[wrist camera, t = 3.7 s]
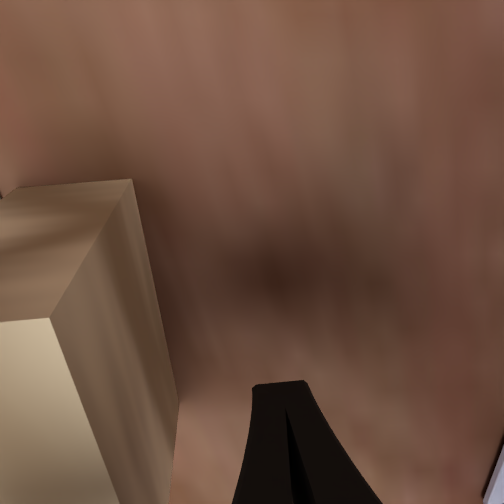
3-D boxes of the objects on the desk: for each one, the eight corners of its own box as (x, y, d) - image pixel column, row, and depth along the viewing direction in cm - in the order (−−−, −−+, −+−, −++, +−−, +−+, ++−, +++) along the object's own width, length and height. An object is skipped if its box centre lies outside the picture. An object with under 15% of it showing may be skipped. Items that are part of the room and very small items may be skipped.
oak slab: (132, 177, 13) (49, 318, 6) (179, 401, 17) (158, 603, 11) (18, 186, 12) (-180, 338, 6) (97, 409, 17) (30, 618, 11)
